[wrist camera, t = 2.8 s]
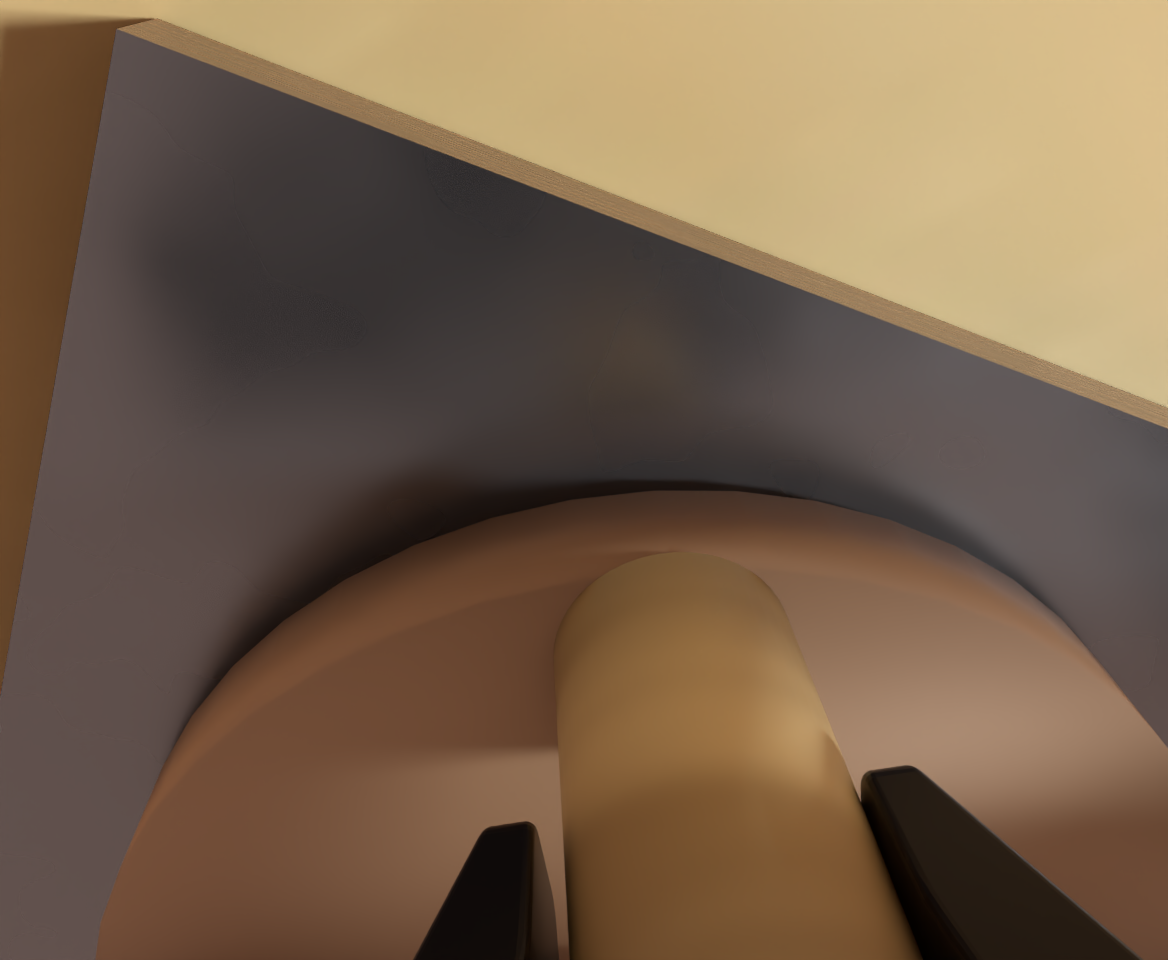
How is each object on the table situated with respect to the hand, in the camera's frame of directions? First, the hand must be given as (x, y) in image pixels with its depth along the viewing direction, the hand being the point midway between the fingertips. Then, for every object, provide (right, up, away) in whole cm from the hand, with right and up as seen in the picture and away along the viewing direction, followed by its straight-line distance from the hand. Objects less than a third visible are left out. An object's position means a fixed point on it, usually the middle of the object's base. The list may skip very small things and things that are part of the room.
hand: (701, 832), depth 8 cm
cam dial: (0, -3, +6) cm, 7 cm away
